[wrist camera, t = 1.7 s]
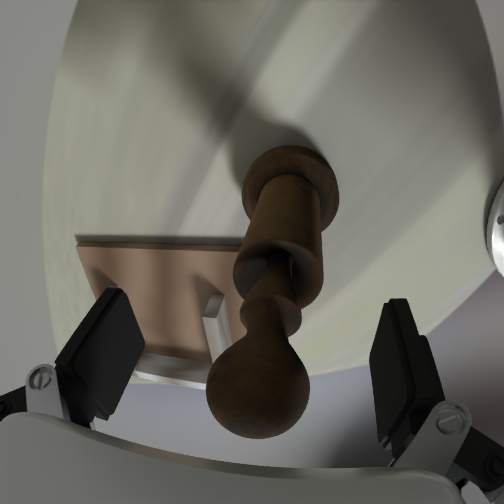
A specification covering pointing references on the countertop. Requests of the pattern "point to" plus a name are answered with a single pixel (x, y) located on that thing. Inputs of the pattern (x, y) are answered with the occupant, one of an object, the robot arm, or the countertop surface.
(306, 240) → the wooden chess pawn
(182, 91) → the countertop surface
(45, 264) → the countertop surface
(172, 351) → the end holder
